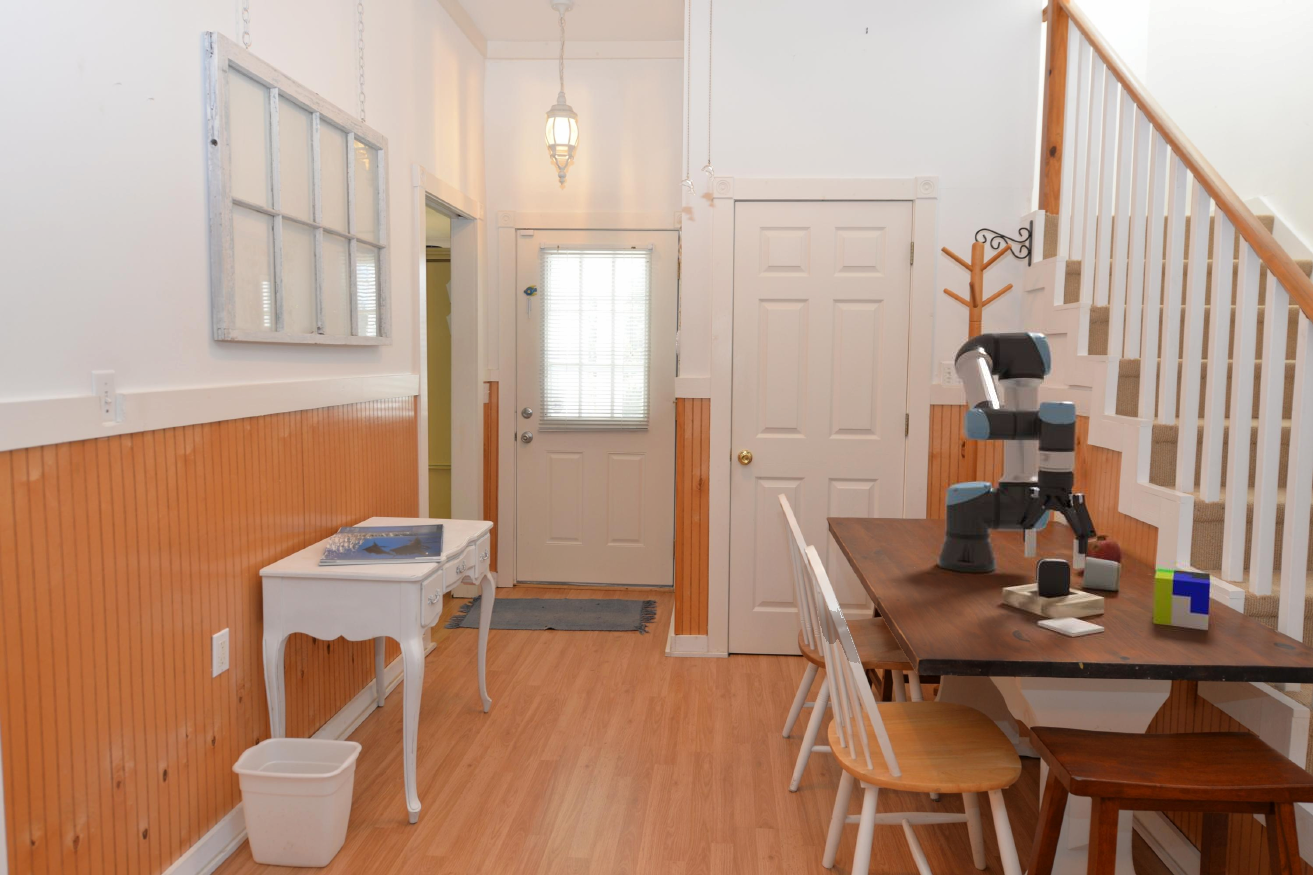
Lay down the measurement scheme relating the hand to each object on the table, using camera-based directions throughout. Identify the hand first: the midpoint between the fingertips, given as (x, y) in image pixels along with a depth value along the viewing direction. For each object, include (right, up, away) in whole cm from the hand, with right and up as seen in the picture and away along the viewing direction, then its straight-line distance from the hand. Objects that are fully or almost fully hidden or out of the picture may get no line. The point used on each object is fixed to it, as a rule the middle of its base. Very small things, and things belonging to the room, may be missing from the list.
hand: (1053, 562), depth 199 cm
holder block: (0, -11, +1) cm, 11 cm away
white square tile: (-3, -12, -14) cm, 19 cm away
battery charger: (0, -11, +1) cm, 11 cm away
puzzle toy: (+23, -12, -9) cm, 28 cm away
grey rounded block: (+20, -9, +19) cm, 29 cm away
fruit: (+29, -8, +35) cm, 46 cm away
